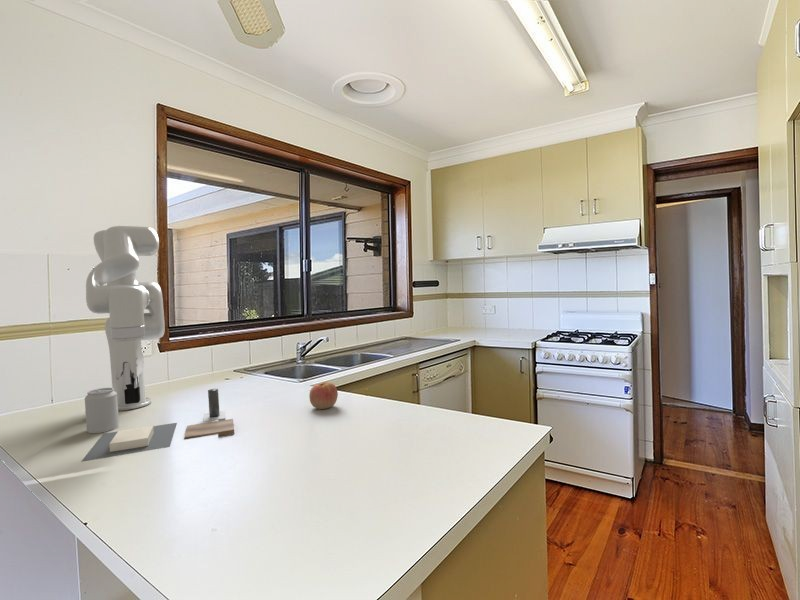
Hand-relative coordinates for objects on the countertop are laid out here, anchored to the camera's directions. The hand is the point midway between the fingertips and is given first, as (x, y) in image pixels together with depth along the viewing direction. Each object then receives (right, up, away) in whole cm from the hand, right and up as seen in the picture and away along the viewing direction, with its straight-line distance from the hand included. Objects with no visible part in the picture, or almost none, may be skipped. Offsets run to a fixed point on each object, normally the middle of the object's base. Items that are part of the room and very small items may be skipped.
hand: (132, 402), depth 110 cm
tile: (0, -8, +2) cm, 8 cm away
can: (-14, -11, +9) cm, 20 cm away
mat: (+1, -10, -1) cm, 10 cm away
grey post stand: (+14, -9, +17) cm, 24 cm away
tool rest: (+18, -9, +5) cm, 21 cm away
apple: (+46, -8, +24) cm, 52 cm away
